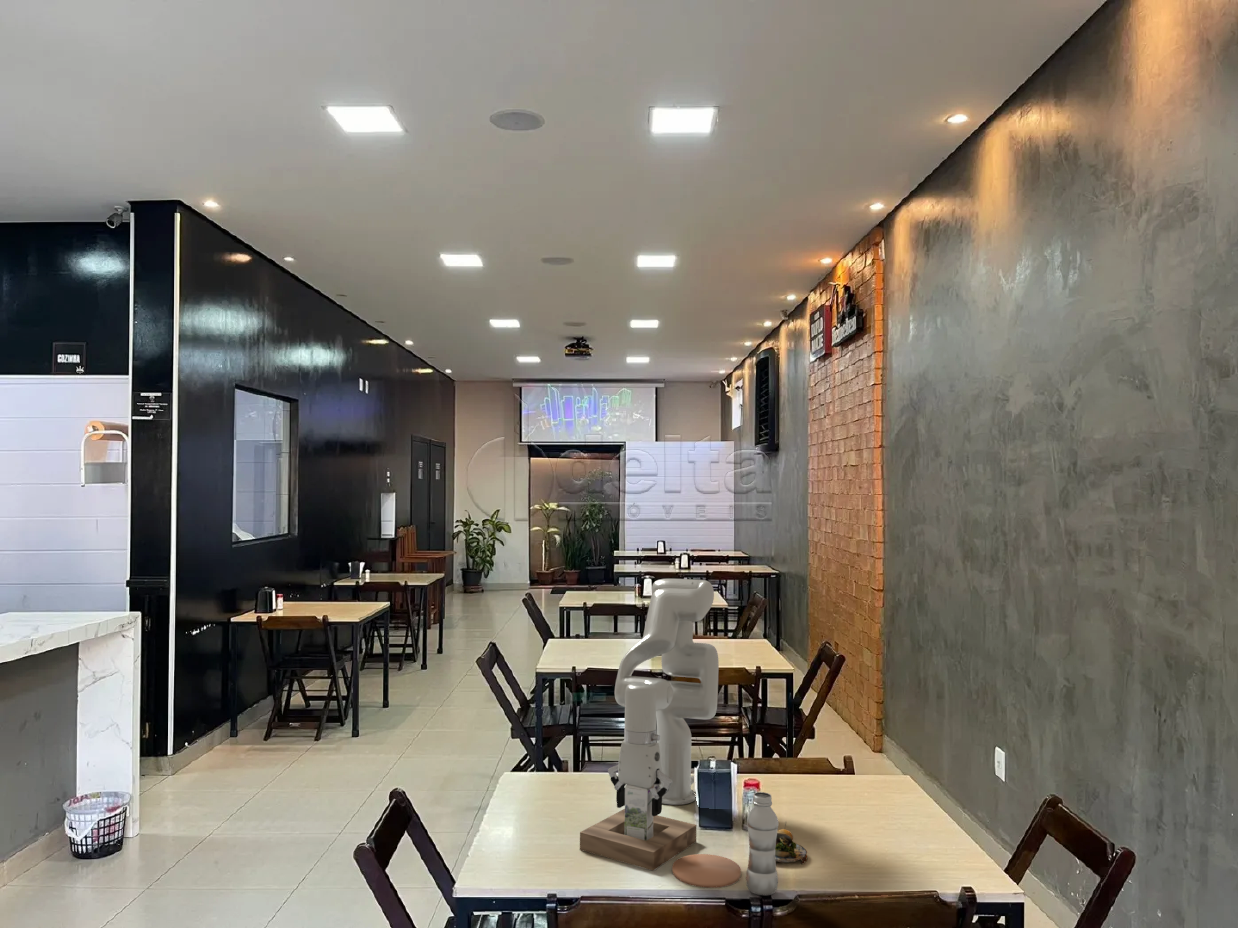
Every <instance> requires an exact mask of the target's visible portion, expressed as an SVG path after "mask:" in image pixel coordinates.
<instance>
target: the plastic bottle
mask: <svg viewBox="0 0 1238 928" xmlns="http://www.w3.org/2000/svg"><path fill="white" fill-rule="evenodd" d="M752 803H753V807H752V808H751V809H750V811H749V813H748V815H747V818H746V824H747V832H748V850H749V852H748V863H747V869H746V873H745V881H746V887H747V888H748V890H749V891H750V892H751V893H752V894H755V895H759V896H770V895H773V894H774V893H775V892H776V891H777V889H778V884H779V878H778V872H777V863H776V862H777V861H776V859H775V848H776V837H777V831H778V830H779V824H780V823H779V819H778V816H777V815H776V812H775V811H774V810H773V808H772V805H773V801H772V794H771V793H768V792H763V791H758V792H757V791H756V792H754V793H753V801H752Z"/></svg>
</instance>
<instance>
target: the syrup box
mask: <svg viewBox="0 0 1238 928" xmlns="http://www.w3.org/2000/svg"><path fill="white" fill-rule="evenodd" d="M624 788H625V806H624V809H625V832H624V835H627V836H631V837H634V838H638V839H642V840H646V841H647V840H648V839H650V838H652V837H653V816H652V799H653V798H654V796H653V794H652V793H651V791H650V789H645V788H640V787H636V786H632V785H628V784H626V785H625V786H624Z"/></svg>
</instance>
